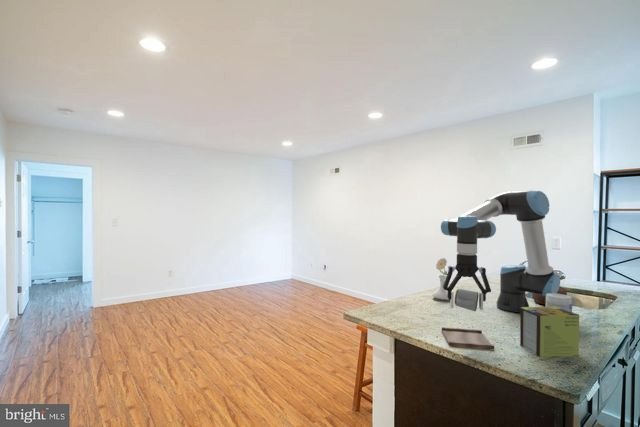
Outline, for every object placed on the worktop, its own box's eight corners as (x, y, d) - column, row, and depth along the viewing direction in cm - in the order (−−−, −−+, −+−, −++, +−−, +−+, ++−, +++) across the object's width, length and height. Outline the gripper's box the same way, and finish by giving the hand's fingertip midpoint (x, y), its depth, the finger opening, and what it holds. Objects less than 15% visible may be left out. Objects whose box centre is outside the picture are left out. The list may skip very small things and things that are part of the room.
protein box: (579, 357, 114) (580, 314, 114) (539, 358, 113) (540, 315, 113) (555, 344, 125) (556, 305, 124) (519, 346, 123) (519, 306, 123)
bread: (527, 302, 183) (527, 288, 182) (540, 291, 208) (540, 278, 208) (561, 308, 172) (561, 293, 171) (570, 296, 197) (570, 282, 197)
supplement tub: (575, 333, 137) (576, 299, 137) (550, 330, 140) (550, 297, 139) (566, 325, 146) (566, 293, 146) (542, 322, 149) (542, 292, 149)
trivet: (481, 334, 134) (481, 330, 134) (494, 351, 119) (494, 345, 119) (441, 331, 137) (441, 327, 137) (449, 347, 122) (449, 342, 122)
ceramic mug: (454, 307, 132) (458, 289, 134) (475, 313, 128) (479, 295, 130) (452, 300, 124) (456, 282, 126) (474, 307, 119) (479, 288, 122)
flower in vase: (430, 295, 196) (430, 255, 196) (449, 296, 194) (449, 256, 194) (435, 301, 183) (435, 258, 183) (455, 302, 181) (456, 259, 181)
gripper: (494, 253, 129) (493, 307, 129) (435, 251, 134) (435, 303, 134) (501, 256, 122) (500, 313, 122) (438, 254, 126) (438, 309, 126)
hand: (466, 308), depth 128 cm, fingers closed on ceramic mug, 10 cm apart
